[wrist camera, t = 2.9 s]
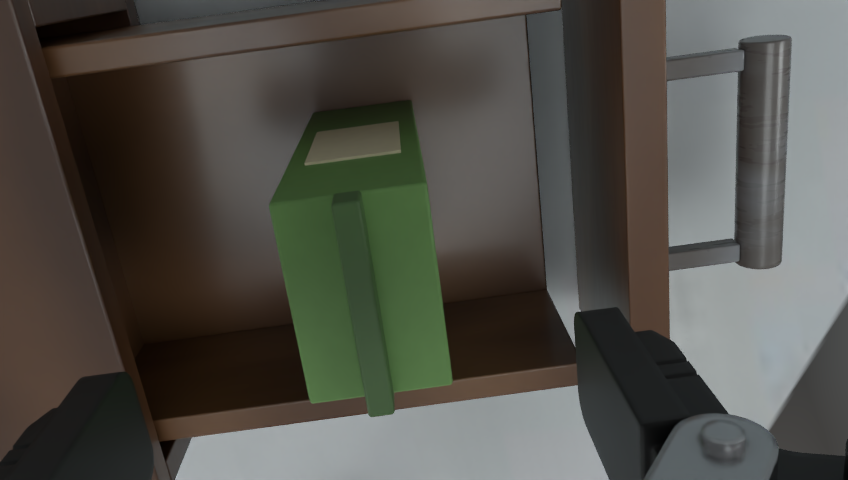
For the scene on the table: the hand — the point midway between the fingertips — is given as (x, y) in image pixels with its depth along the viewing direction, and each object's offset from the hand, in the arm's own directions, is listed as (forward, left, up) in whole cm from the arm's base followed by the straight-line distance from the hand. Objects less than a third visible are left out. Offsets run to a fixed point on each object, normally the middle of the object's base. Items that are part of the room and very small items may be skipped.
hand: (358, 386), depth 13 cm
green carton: (0, 0, -14) cm, 14 cm away
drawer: (0, +1, -15) cm, 15 cm away
